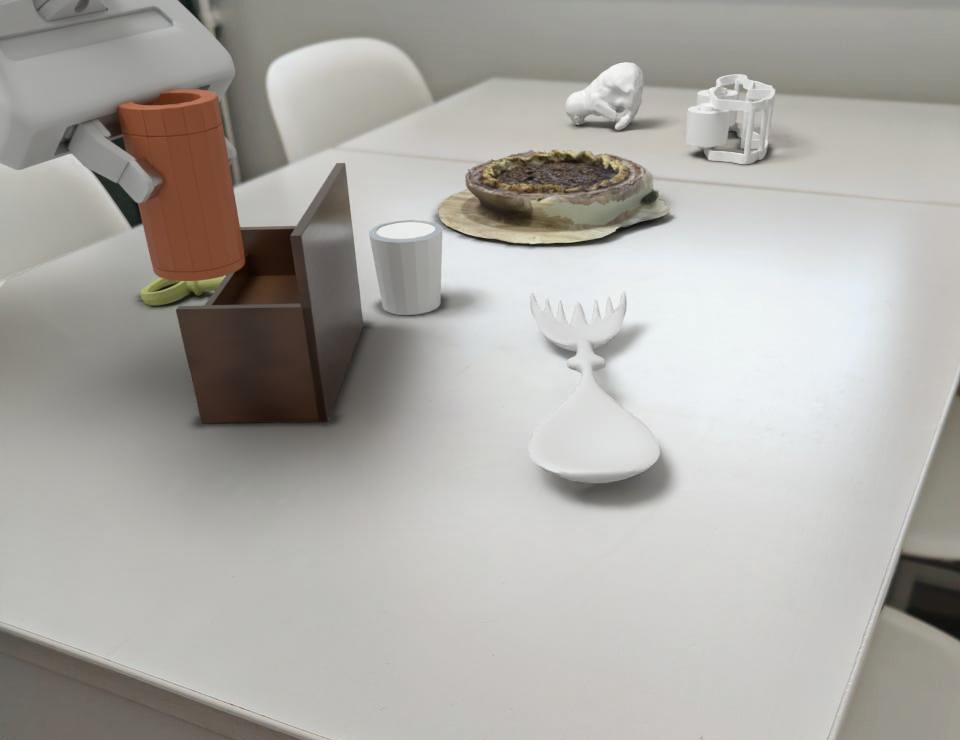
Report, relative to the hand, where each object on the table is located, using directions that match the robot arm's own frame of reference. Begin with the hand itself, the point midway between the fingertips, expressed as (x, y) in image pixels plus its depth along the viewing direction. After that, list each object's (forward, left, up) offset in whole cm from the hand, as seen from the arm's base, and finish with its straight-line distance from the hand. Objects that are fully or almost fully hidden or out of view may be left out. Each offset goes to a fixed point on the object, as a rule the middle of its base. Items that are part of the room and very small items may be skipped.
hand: (190, 178), depth 63 cm
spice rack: (+1, +14, -19) cm, 23 cm away
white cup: (+10, +29, -19) cm, 36 cm away
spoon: (+26, +7, -19) cm, 33 cm away
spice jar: (-1, 0, -5) cm, 6 cm away
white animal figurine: (+32, +104, -19) cm, 110 cm away
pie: (+24, +60, -19) cm, 67 cm away
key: (-12, +33, -19) cm, 40 cm away
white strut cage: (+49, +89, -19) cm, 103 cm away
